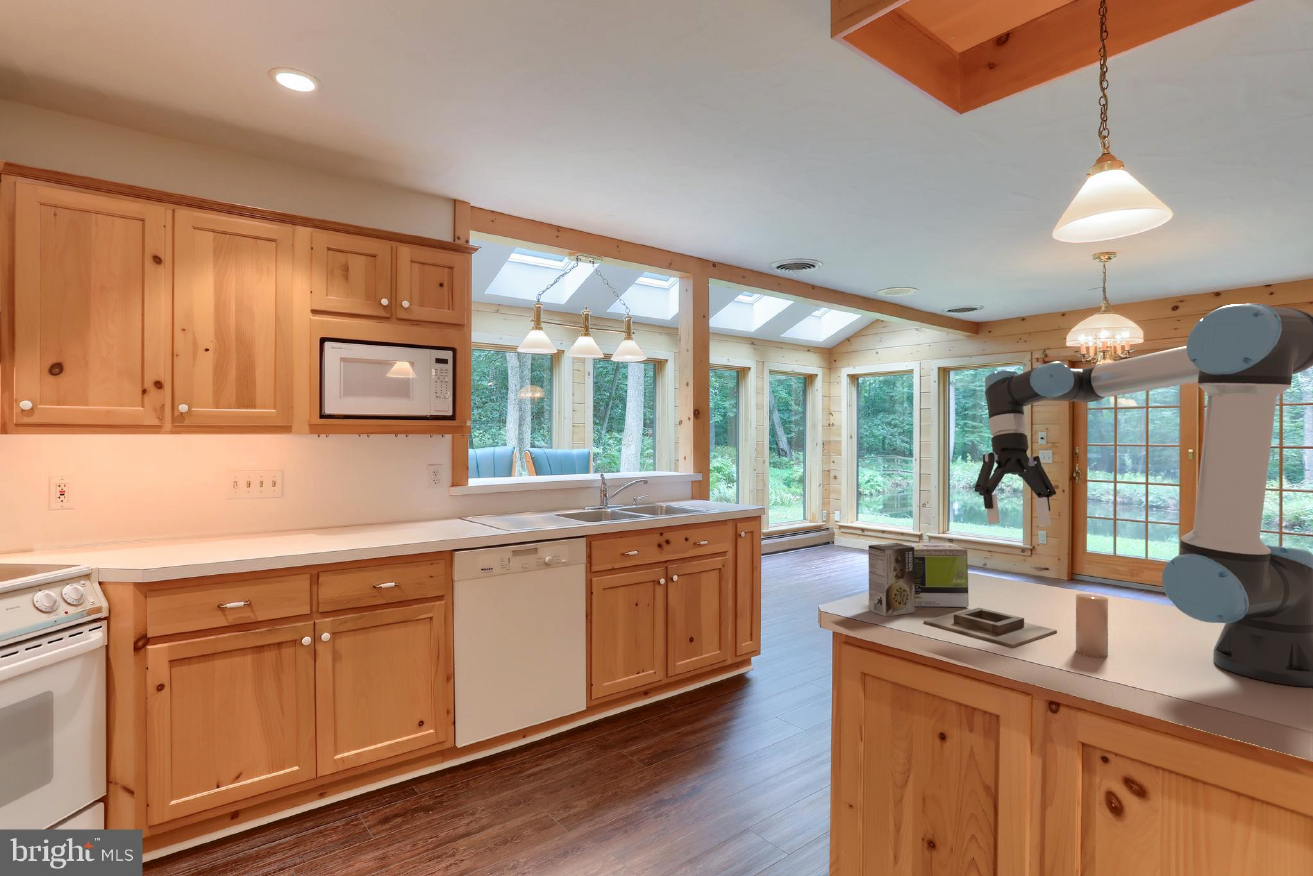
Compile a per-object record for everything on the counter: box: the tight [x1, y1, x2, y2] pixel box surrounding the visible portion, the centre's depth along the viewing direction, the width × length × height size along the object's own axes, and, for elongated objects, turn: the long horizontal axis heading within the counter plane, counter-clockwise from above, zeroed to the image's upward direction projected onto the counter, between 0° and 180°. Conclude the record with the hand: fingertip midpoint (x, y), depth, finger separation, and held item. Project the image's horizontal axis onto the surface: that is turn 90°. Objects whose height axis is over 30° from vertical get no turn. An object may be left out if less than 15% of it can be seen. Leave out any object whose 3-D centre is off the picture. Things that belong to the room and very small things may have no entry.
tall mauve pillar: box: [1075, 593, 1109, 659], centre depth 123 cm, size 5×5×11 cm
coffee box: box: [868, 542, 916, 617], centre depth 153 cm, size 9×6×16 cm
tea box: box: [899, 542, 970, 608], centre depth 161 cm, size 15×10×15 cm, turn 84°
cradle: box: [922, 607, 1058, 648], centre depth 140 cm, size 20×18×3 cm
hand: (1019, 525), depth 144 cm, fingers open, 13 cm apart
